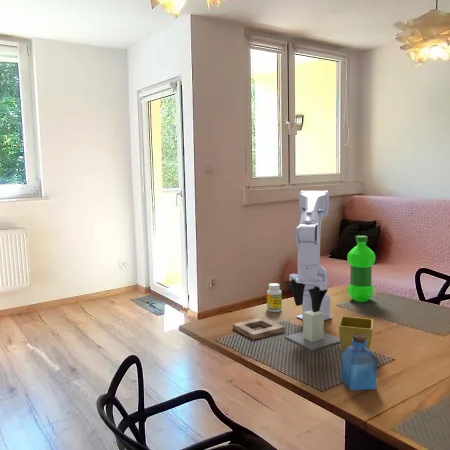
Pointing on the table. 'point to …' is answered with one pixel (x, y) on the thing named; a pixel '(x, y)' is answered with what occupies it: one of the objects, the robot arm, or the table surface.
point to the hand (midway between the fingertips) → (307, 308)
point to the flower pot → (354, 330)
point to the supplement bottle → (274, 298)
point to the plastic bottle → (361, 270)
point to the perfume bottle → (359, 365)
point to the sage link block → (313, 325)
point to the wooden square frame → (269, 330)
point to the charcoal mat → (314, 345)
